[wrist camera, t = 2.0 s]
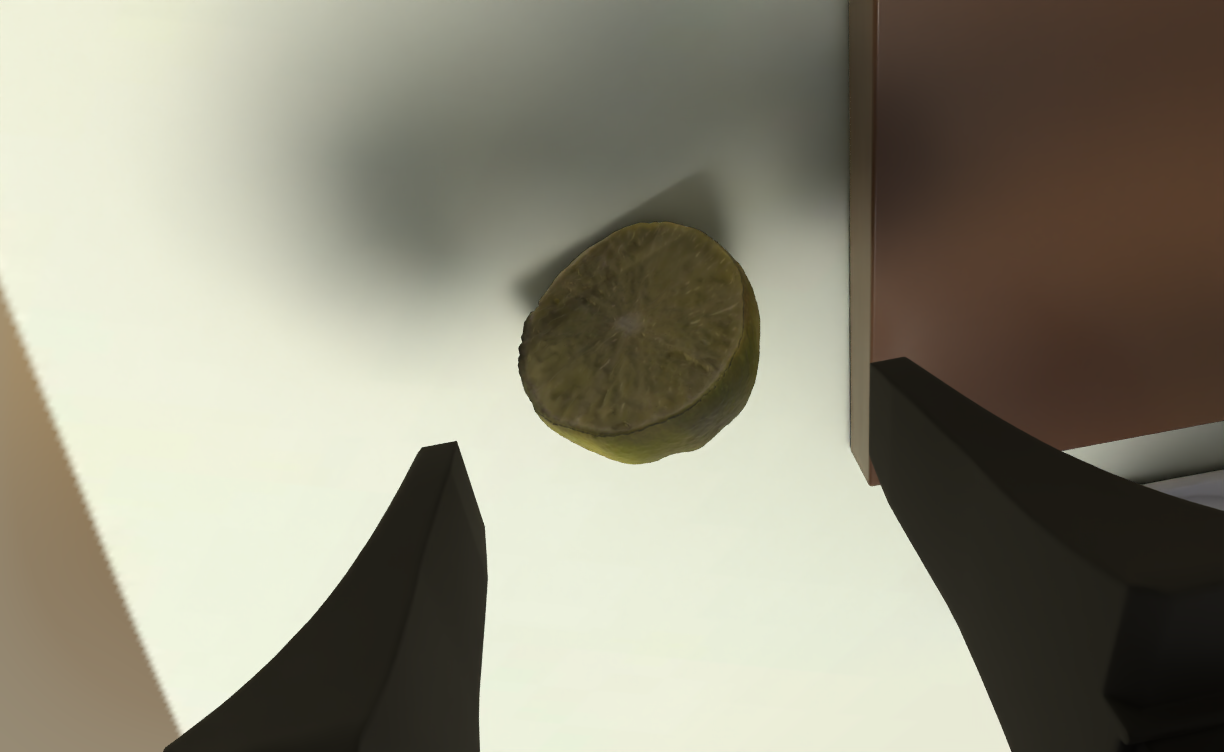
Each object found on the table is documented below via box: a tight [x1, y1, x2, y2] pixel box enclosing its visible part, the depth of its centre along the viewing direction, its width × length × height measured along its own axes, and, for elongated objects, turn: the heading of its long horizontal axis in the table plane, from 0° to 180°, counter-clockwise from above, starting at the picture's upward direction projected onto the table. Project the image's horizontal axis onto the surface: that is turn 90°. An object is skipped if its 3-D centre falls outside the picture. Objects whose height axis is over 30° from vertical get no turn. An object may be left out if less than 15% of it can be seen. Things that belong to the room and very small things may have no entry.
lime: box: [518, 221, 760, 464], centre depth 18 cm, size 4×5×5 cm
